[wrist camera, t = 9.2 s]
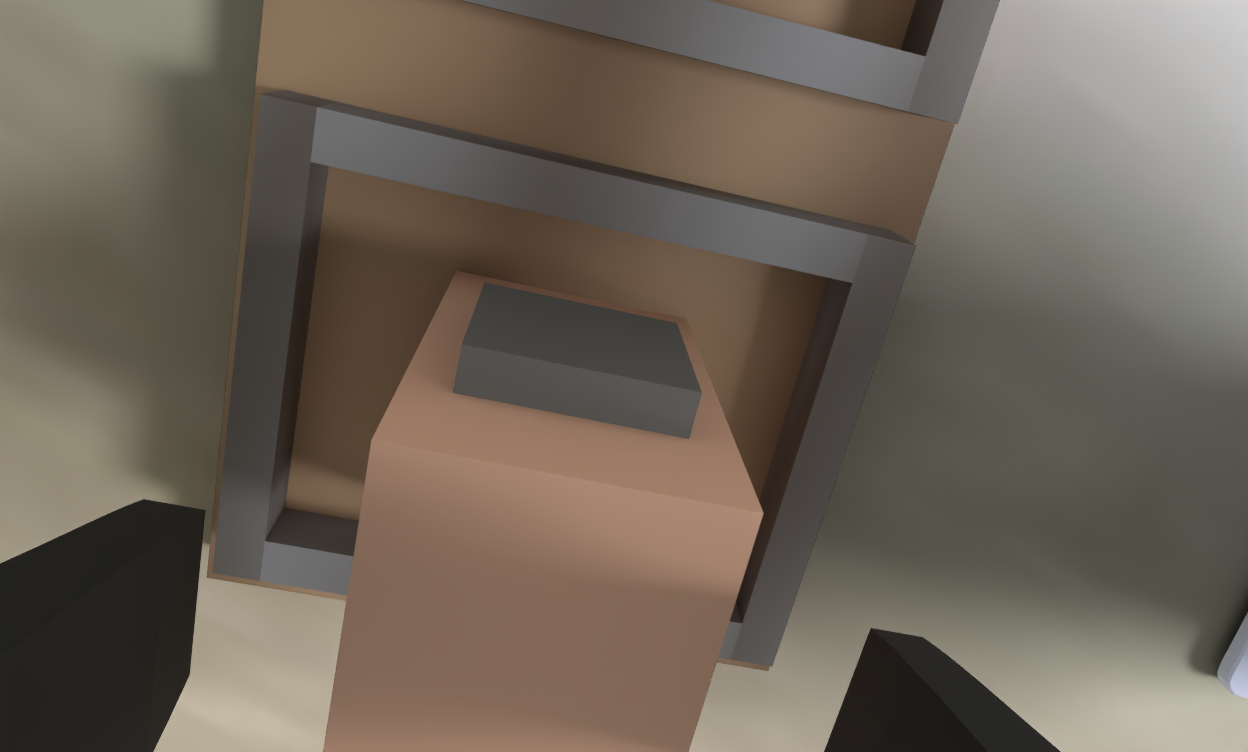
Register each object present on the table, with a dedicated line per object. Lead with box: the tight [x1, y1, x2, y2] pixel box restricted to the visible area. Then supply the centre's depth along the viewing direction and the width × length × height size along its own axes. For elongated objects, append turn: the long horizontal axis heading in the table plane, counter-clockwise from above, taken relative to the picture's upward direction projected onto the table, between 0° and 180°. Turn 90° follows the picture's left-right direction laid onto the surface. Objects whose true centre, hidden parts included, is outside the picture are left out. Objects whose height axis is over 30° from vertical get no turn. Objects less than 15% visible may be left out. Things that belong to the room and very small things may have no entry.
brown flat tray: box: [207, 0, 1000, 671], centre depth 14 cm, size 11×20×4 cm, turn 167°
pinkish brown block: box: [323, 271, 764, 752], centre depth 13 cm, size 4×5×7 cm
